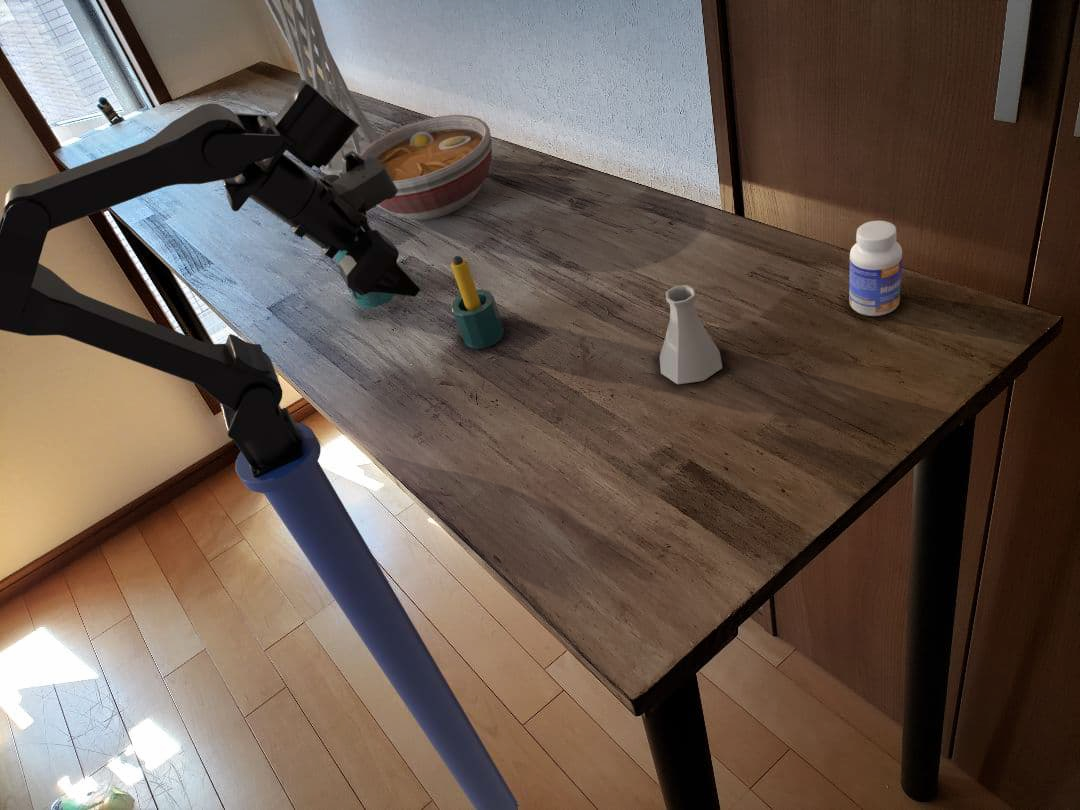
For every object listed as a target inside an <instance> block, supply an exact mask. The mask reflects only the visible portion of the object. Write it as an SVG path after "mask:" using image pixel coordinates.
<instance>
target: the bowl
mask: <svg viewBox="0 0 1080 810" xmlns="http://www.w3.org/2000/svg"><path fill="white" fill-rule="evenodd" d="M492 146H493V142H492V135H491V130H490V127H489V125H488V123H486V122H485V121H484V120H482V119H481V118H478V117H475V116H472V115H465V114H450V115H449V114H448V115H440V116H434V117H429V118H424V119H421V120H418V121H414V122H411V123H409V124H405V125H403V126H401V127H398V128H396V129H394V130H392V131H390V132H388V133H386V134H384V135H382V136H380V137H379V139H378V140H376V141H374V142H373V143H372V144H370V145H369V146H368V147H367V148H366V149H364V151H363V152H362V153H361V154H360V156H361V157H363V158H364V159H365V160H367V156H369V155H370V156H371V157H376V158H377V159H378V160H379V161H380V162H381V163H382V164H383V165H384V167H385V168H386V170H387V172H388V174H389V175H390V177H391V179H392V181H393V182H394V184H395V186H396V188H397V189H398V192H397V194H396V195H395V196H394V197H392V198H391V199H386V200H384V201H383V202H381V203H379V204H378V206H380V207H381V208H382V209H383V210H386V211H388V212H389V213H391V214H393V215H396V216H398V217H401V218H405V219H411V220H418V221H419V220H420V221H422V220H432V219H437V218H442V217H444V216H447V215H450V214H452V213H454V212H456V211H458V210H460V209H461V208H464V206H466V205H468V203H469V202H471V200H472V199H473V198H474V197H475V196H476V195H477V194H478V193H479V192H480V191H481V189H482V187H483V186H484V185H483V184H484V183H485V181H486V180H487V177H488V175H489V171H490V167H491V163H492V157H493V155H492V153H493V148H492Z"/></svg>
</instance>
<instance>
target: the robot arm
mask: <svg viewBox="0 0 1080 810" xmlns="http://www.w3.org/2000/svg"><path fill="white" fill-rule="evenodd" d="M339 105H340V104H339ZM339 105H338V104H337V103H336V102H334V101H333V100H332V99H331V98H330V97H329V96H327V95H326V94H325V95H324V93H322V91H321V92H319V91H318V90H317V89H316V88H314V87H312V86H311V85H310V84H309V83H308V82H307V81H305V80H300V82H299V83H298V85H297V86H296V87H295V88H294V91H293V93H292V95H291V97H290V98H289V100H288V101H287V102H286V103H285V104H284V106H283V107H282V108H281V110H280V111H279V113H277V115H276V116H275V117H274V119H273V118H272V117H271V115H269V114H257V113H255V114H254V113H235V112H234V111H233V110H231V109H230V108H228V107H226V106H225V105H224V106H223V105H221V104H219V103H211V102H209V103H205V104H201V105H199V106H196V107H195V108H193V109H192V110H190V111H188V112H187V113H185V114H183V115H181V116H180V117H178V118H176V119H175V120H173V121H171V122H170V123H168V125H166V126H165V127H164V128H163V129H161V130H160V131H159V132H157V134H155V135H154V136H152V137H150V138H149V139H147V140H145V141H143V142H141V143H138V144H135V145H132V146H130V147H127V148H124V149H121V150H119V151H116V152H113V153H110V154H107V155H104V156H102V157H99V158H96V159H94V160H91V161H88V162H85V163H83V164H80V165H77V166H73V167H72V168H69V169H66V170H64V171H63V170H62V171H60V172H57V173H55V174H52V175H50V176H47V177H44V178H41V179H38V180H34V181H33V182H30V183H29V182H27V183H19V184H17V185H14V186H13V187H11V188H10V189H9V190H8V192H7V193H6V194H5V198H4V205H3V210H2V215H1V218H0V331H3V332H8V333H13V334H17V335H21V336H27V337H43V336H45V337H47V336H49V337H50V336H61V337H65V338H69V339H71V340H74V341H77V342H80V343H82V344H85V345H88V346H90V347H94V348H97V349H99V350H102V351H104V352H107V353H110V354H113V355H116V356H119V357H121V358H123V359H127V360H129V361H132V362H135V363H138V364H141V365H143V366H146V367H149V368H152V369H154V370H157V371H160V372H162V373H166V374H169V375H171V376H174V377H176V378H179V379H181V380H185V381H187V382H190V383H193V384H195V385H197V386H198V387H200V388H201V389H202V390H203V391H205V392H206V393H207V394H208V395H209V396H211V397H212V398H213V399H214V400H215V401H217V402H218V403H219V407H220V409H221V414H222V417H223V422H224V425H225V429H226V433H227V437H229V438H230V439H231V440H232V441H234V444H235V445H236V446H237V448H238V450H240V452H242V454H243V455H244V457H245V458H246V460H247V461H248V463H249V464H250V468H251V473H252V475H253V477H255V478H256V477H259V476H261V475H263V474H265V473H268V472H270V471H272V470H274V469H276V468H279V467H281V466H283V465H285V464H287V463H289V462H292V461H294V460H296V459H298V458H300V457H302V456H303V450H302V447H301V443H302V441H303V440H302V437H301V433H300V430H299V428H298V427H297V425H296V423H297V422H295V420H294V418H293V417H292V414H291V413H290V411H289V409H288V408H287V407H281V405H280V403H281V401H282V399H283V388H282V386H281V383H280V380H279V377H278V374H277V372H276V370H275V366H274V364H273V361H272V359H271V357H270V356H269V355H268V353H266V352H265V351H264V350H263V347H262V345H261V344H258V343H251V342H248V341H246V340H244V339H242V338H240V337H238V336H237V335H235V334H232V333H229V334H228V335H227V338H226V341H225V343H208V342H205V341H201V340H199V339H196V338H194V337H192V336H189V335H187V334H184V333H181V332H180V331H177V330H174V329H171V328H170V327H169V328H168V327H167V326H164V325H161V324H158V323H156V322H154V321H152V320H149V319H146V318H144V317H141V316H138V315H136V314H133V313H132V312H128V311H126V310H123V309H120V308H118V307H116V306H113V305H110V304H108V303H106V302H103V301H100V300H98V299H96V298H93V297H91V296H89V295H86V294H84V293H81V292H80V291H77V290H76V289H75V288H74V287H72V286H71V285H70V284H69V283H67V282H66V281H65V280H64V279H62V278H61V277H60V276H58V275H57V274H56V273H55V271H52V269H50V268H48V267H46V266H45V265H44V264H42V263H40V258H41V255H42V251H43V248H44V245H45V242H46V239H47V235H48V233H49V232H50V231H51V230H53V229H57V228H59V227H61V226H64V225H67V224H70V223H72V222H75V221H77V220H80V219H83V218H86V217H88V216H91V215H93V214H97V213H99V212H101V211H104V210H107V209H109V208H112V207H115V206H118V205H120V204H123V203H125V202H128V201H130V200H134V199H136V198H138V197H141V196H142V197H143V196H144V195H147V194H149V193H153V192H155V191H157V190H161V189H163V188H167V187H171V186H172V187H173V186H177V185H203V184H209V183H214V182H219V181H222V184H223V186H224V188H225V190H226V198H227V201H228V203H229V206H230V209H231V210H232V211H233V212H238V211H240V209H241V208H242V207H243V206H244V204H245V203H246V202H247V201H248V200H249V199H251V200H252V201H254V202H255V203H257V204H258V205H259V206H260V207H262V208H263V209H265V210H267V211H268V212H270V213H271V214H272V215H273V216H275V217H276V218H278V219H279V220H281V221H282V222H283V223H286V224H287V225H288V226H289V227H290V229H291V230H292V233H293V234H295V235H296V236H297V237H299V238H300V239H303V238H304V237H306V238H307V239H308V240H310V241H311V242H312V243H314V244H315V245H317V246H318V247H320V249H321V251H322V252H323V254H324V255H325V256H327V257H328V258H329V259H330V260H333V259H334V258H335V257H334V256H335V255H336V254H337V253H338V251H339V250H340V251H343V250H345V251H348V252H347V253H346V255H345V256H344V257H343V258H342V260H341V261H340V262H339V266H338V269H339V275H340V276H341V278H342V280H343V282H344V283H345V285H346V287H347V288H348V287H349V288H350V289H352V290H353V291H355V292H356V293H358V294H359V295H361V296H363V295H365V294H368V293H369V292H378V293H390V294H395V295H398V296H399V295H400V296H408V297H416V296H417V295H418V294H419V293H420V291H421V289H420V287H419V286H418V284H416V283H415V281H413V279H412V278H411V277H410V275H408V273H406V272H405V270H404V269H402V267H401V266H400V265H399V264H398V258H399V256H400V255H399V250H398V248H397V247H396V246H395V245H394V242H392V241H391V240H390V239H389V238H388V237H387V236H385V234H383V233H381V232H380V230H378V229H372V227H371V226H370V227H371V228H370V227H369V226H368V224H367V220H368V219H369V218H368V216H367V212H368V211H370V210H371V209H373V208H374V207H376V206H379V203H381V202H383V201H384V200H386V199H391V198H392V197H394V196H395V195H396V194H397V192H398V189H397V188H396V186H395V184H394V182H393V181H392V179H391V177H390V175H389V174H388V172H387V170H386V168H385V167H384V165H383V164H382V163H381V162H380V161H379V160H378V159H377V158H376V157H371V156H370V155H369V156H367V160H365V159H364V158H363V157H361V156H360V155H358V154H357V153H355V152H353V151H351V152H349V153H347V154H346V155H344V156H342V169H343V173H344V174H343V173H342V172H341V173H339V177H340V178H338V179H337V180H335V181H334V182H332V183H330V182H329V181H327V180H326V179H325V178H323V177H324V176H321V177H319V176H318V175H317V176H316V177H315V176H314V175H313V174H311V173H310V172H308V171H307V170H306V169H304V168H303V167H302V166H300V165H299V164H297V163H296V162H295V161H294V160H293V159H291V158H290V157H289V156H287V155H286V154H284V153H285V152H286V151H287V152H288V153H290V154H291V155H292V156H293V157H295V158H296V159H297V160H298V161H300V162H301V163H302V164H304V165H305V166H306V167H308V168H310V169H312V168H313V167H314V166H315V167H316V168H317V169H320V167H321V166H322V165H323V166H327V165H328V164H329V162H330V161H331V160H332V159H333V157H334V156H335V155H336V154H337V152H338V151H339V150H340V149H341V147H342V146H343V145H344V144H345V143H346V142H348V141H349V139H350V138H351V135H352V134H353V132H354V131H355V130H356V131H357V129H358V128H359V127H360V126H359V124H358V122H357V120H356V119H355V118H354V117H353V116H352V115H350V113H349V114H348V113H347V112H346V111H345V110H344V109H342V108H341V107H340V106H341V105H340V106H339ZM349 288H348V289H349Z"/></svg>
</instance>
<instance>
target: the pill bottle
mask: <svg viewBox="0 0 1080 810" xmlns="http://www.w3.org/2000/svg"><path fill="white" fill-rule="evenodd" d="M855 236H856V237H855V241H856V242H855V243H854V245H852V247H851V249H850V252H849V287H848V289H849V290H848V291H849V292H848V293H849V295H848V300H849V301H848V302H849V305H850V307H851V309H852V310H853V311H855V312H856V313H858V314H860V315H863V316H868V317H879V316H883V315H887V314H889V313H891V312H893V311H895V310H896V309H897V307H898V306H899V305H900V302H901V301H900V299H901V285H902V283H901V282H902V267H903V248H902V246H901V244H900V243H899V242H898V241H897V238H898V237H897V236H898V235H897V228H896V225H895V224H893V223H891V222H889V221H887V220H886V221H885V220H871V221H867V222H864V223H862V224H861V225H860V226H859V227H858V228H857V229H856V235H855Z"/></svg>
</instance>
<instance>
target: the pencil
mask: <svg viewBox="0 0 1080 810" xmlns="http://www.w3.org/2000/svg"><path fill="white" fill-rule="evenodd" d="M450 268H451V270H452V273H453V276H454V278H455V281H456V285H457V287H458V290H459V293H460V295H461V296H462V298H463V301H464V304H465V307H466V310H467V311H472V310H475V309H478V308H480V307H481V306H482V305H481V302H480V299H479V296H478V293H477V290H478V289H477V288H476V285H475V282H474V278H473V275H472V272H471V269H470V267H469V264H468V261H467V259H466V258H464V257H462V256H460V255H456V256H454V257H453V259H452V261H451V262H450Z"/></svg>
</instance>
